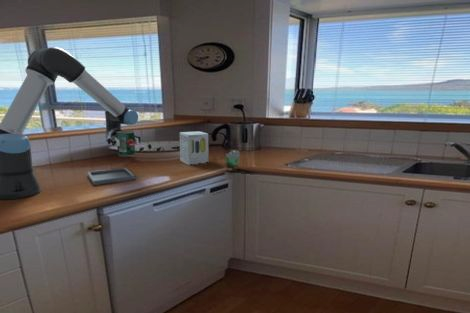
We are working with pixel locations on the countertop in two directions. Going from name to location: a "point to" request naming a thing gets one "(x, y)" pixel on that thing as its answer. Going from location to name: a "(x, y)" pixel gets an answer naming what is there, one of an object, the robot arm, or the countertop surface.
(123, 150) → the canned tomato
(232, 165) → the food container
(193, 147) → the supplement box
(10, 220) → the countertop surface
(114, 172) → the tray
